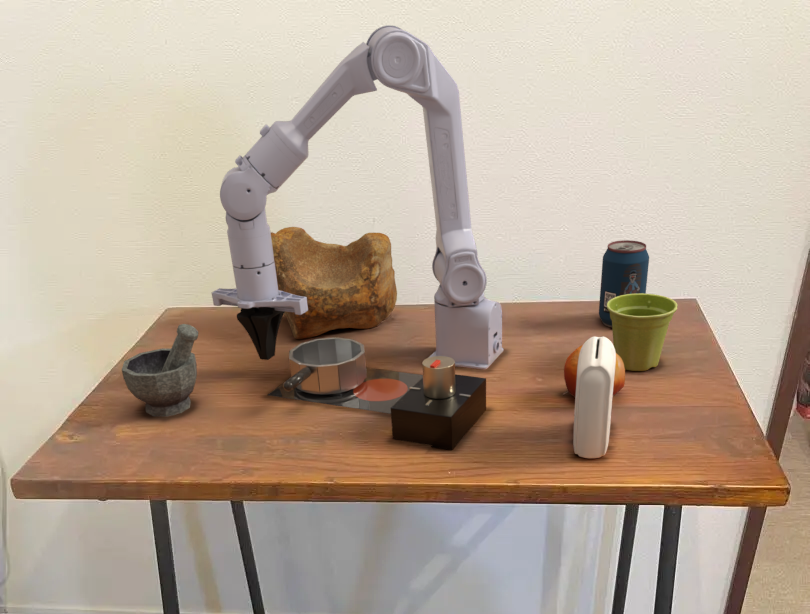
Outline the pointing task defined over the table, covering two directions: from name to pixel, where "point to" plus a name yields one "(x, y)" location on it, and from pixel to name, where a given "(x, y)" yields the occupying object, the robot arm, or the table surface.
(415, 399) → the box
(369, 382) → the hob
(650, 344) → the plant pot
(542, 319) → the table surface
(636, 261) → the soda can
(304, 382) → the saucepan
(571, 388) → the fruit
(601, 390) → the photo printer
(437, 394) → the knob
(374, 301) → the rough brown rock
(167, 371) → the mortar and pestle
